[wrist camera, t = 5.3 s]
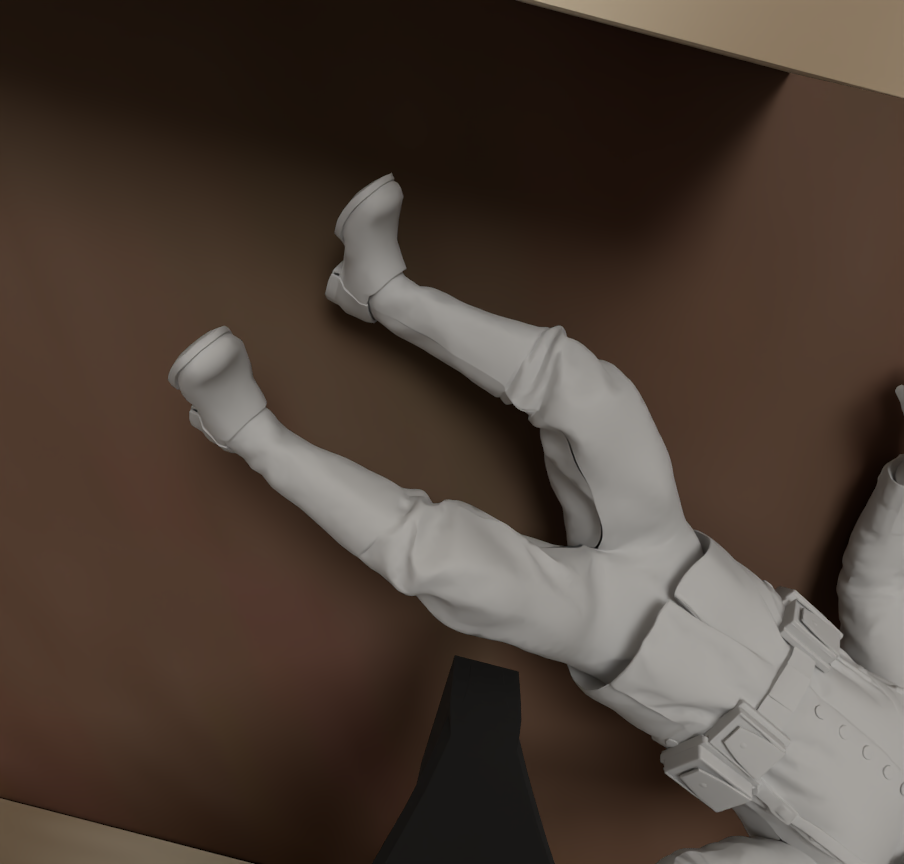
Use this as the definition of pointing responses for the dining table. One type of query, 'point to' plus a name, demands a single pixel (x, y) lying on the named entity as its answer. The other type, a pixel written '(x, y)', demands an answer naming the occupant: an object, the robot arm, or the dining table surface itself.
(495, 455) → the dining table surface
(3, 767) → the dining table surface
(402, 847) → the robot arm
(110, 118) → the dining table surface
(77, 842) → the beech frame
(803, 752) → the soldier figure
